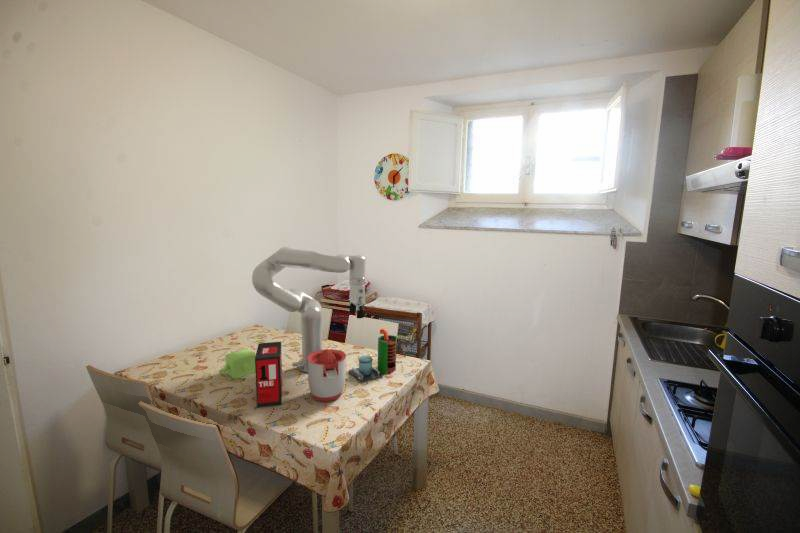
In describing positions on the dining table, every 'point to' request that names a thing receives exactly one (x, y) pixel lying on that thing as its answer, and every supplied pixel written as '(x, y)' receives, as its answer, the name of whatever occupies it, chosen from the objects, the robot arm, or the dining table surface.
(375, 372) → the mount plate
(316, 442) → the dining table surface
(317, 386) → the citrus juicer
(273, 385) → the cleaning product box
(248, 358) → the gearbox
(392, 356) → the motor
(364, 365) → the blue lidded jar
